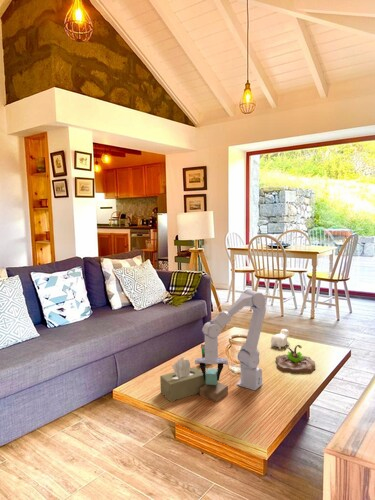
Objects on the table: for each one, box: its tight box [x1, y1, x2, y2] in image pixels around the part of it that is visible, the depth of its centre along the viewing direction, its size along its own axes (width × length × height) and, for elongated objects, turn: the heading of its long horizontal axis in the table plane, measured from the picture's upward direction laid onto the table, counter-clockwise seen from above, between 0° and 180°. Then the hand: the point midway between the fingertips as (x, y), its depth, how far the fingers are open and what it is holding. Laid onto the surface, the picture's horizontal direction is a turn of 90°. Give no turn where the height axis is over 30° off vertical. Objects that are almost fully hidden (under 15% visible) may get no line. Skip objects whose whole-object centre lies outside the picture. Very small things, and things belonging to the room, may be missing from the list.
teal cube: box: [205, 367, 219, 385], centre depth 160 cm, size 5×5×5 cm
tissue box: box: [159, 357, 206, 402], centre depth 161 cm, size 19×10×16 cm, turn 120°
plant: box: [275, 344, 316, 374], centre depth 187 cm, size 20×20×11 cm
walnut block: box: [199, 382, 229, 403], centre depth 158 cm, size 9×9×4 cm
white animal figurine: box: [270, 328, 290, 350], centre depth 217 cm, size 9×8×15 cm
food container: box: [200, 343, 205, 358], centre depth 197 cm, size 12×6×10 cm, turn 143°
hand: (211, 379), depth 159 cm, fingers closed on teal cube, 5 cm apart
